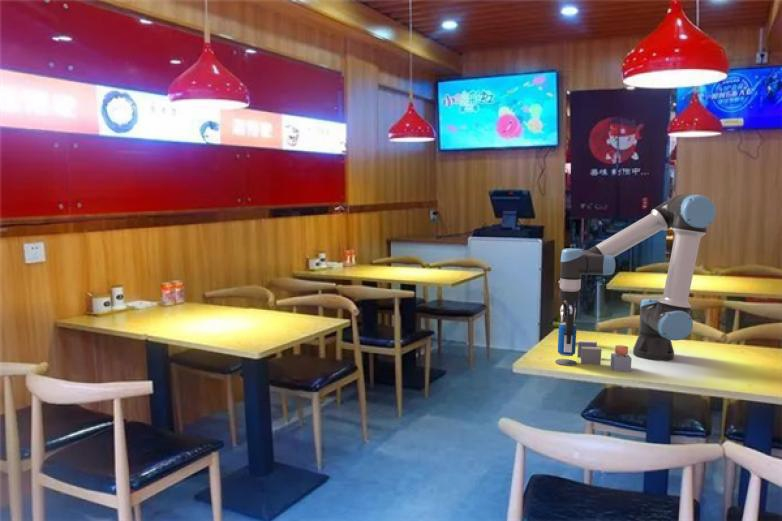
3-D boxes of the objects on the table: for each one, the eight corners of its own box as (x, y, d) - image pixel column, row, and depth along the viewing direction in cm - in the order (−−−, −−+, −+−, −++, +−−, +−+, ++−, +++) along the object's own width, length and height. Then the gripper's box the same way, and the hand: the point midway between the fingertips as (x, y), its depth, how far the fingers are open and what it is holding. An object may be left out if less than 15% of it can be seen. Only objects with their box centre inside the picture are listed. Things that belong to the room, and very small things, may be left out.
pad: (575, 360, 237) (575, 359, 237) (578, 366, 229) (578, 365, 229) (554, 359, 238) (554, 358, 238) (556, 365, 230) (556, 364, 230)
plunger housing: (627, 367, 229) (627, 354, 228) (630, 371, 223) (631, 358, 222) (610, 366, 230) (611, 353, 229) (613, 370, 224) (614, 357, 223)
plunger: (625, 364, 228) (626, 345, 227) (628, 368, 224) (629, 348, 223) (613, 364, 229) (614, 344, 228) (615, 367, 224) (616, 347, 224)
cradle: (595, 357, 242) (596, 341, 241) (600, 365, 231) (601, 348, 230) (577, 356, 243) (577, 340, 242) (581, 364, 232) (582, 347, 231)
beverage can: (574, 357, 229) (575, 326, 227) (556, 355, 231) (558, 324, 230) (575, 353, 235) (577, 322, 233) (558, 351, 237) (560, 321, 236)
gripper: (556, 285, 240) (553, 342, 243) (562, 293, 221) (559, 355, 224) (576, 286, 239) (573, 343, 242) (584, 294, 220) (580, 356, 223)
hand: (566, 349), depth 233 cm, fingers closed on beverage can, 6 cm apart
